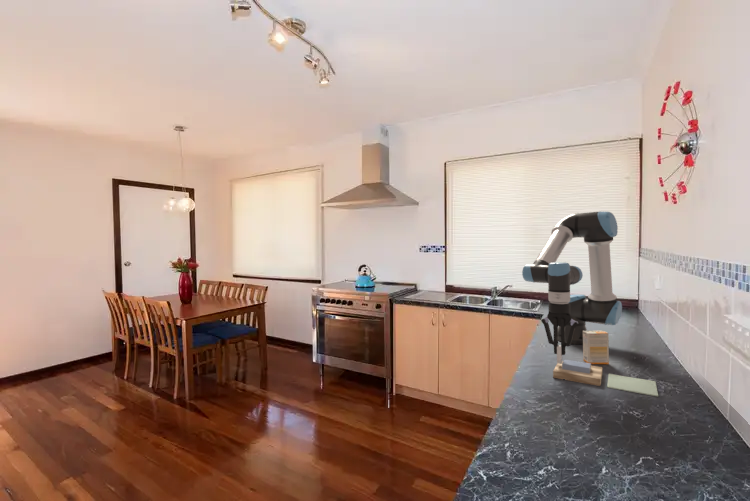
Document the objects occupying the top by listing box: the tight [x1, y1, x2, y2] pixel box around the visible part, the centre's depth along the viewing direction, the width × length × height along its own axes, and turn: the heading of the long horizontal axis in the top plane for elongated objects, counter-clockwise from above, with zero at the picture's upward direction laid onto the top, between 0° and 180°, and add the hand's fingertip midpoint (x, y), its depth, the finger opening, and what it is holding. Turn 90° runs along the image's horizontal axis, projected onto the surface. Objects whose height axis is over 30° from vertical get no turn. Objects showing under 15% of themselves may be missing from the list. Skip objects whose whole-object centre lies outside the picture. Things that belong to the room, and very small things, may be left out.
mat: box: [606, 373, 659, 398], centre depth 126 cm, size 14×14×1 cm
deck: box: [552, 360, 603, 387], centre depth 136 cm, size 14×15×2 cm
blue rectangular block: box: [562, 359, 592, 374], centre depth 136 cm, size 9×6×2 cm, turn 55°
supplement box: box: [582, 330, 610, 365], centre depth 149 cm, size 8×5×13 cm, turn 84°
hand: (559, 362), depth 139 cm, fingers closed
